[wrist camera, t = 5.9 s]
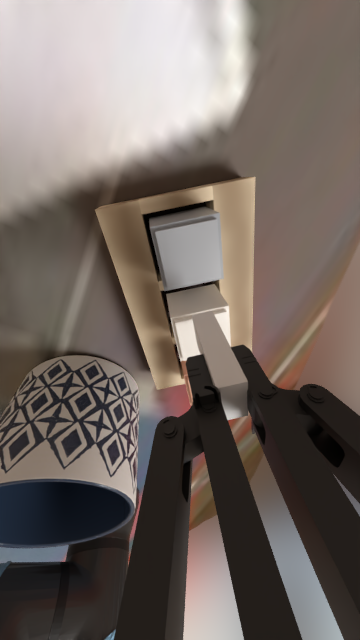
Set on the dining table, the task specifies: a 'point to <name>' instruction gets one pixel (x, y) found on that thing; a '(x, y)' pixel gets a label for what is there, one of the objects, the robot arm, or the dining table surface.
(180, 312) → the key mid
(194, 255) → the key
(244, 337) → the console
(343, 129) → the dining table surface
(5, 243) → the dining table surface
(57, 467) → the planter
